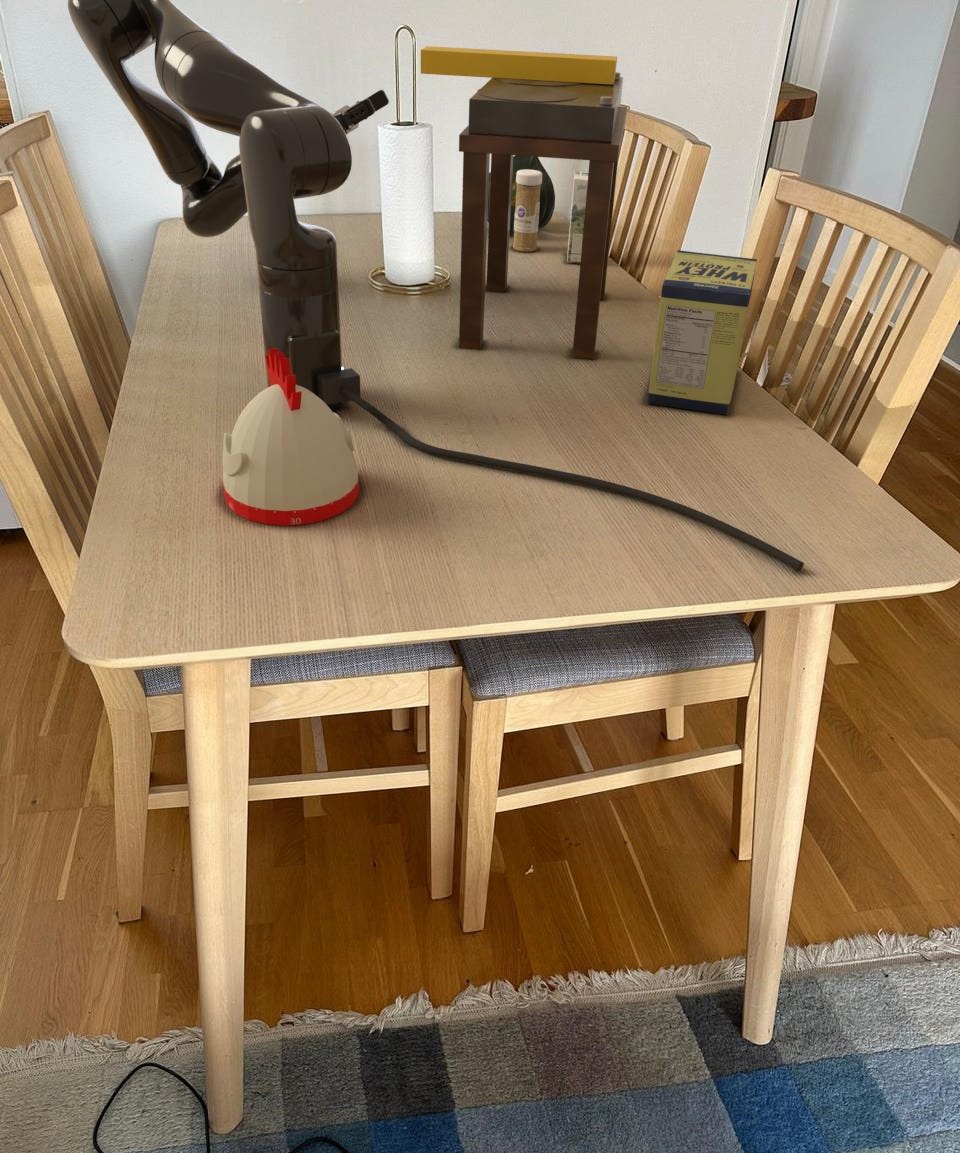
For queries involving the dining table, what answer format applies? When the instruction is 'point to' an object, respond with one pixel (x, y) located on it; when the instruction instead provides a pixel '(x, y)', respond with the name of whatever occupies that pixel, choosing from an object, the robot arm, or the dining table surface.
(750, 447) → the dining table surface
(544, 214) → the squash
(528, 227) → the sprinkles bottle
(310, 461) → the kitchen timer
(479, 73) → the yellow rectangular bar
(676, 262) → the protein box
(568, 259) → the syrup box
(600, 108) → the hob stand
